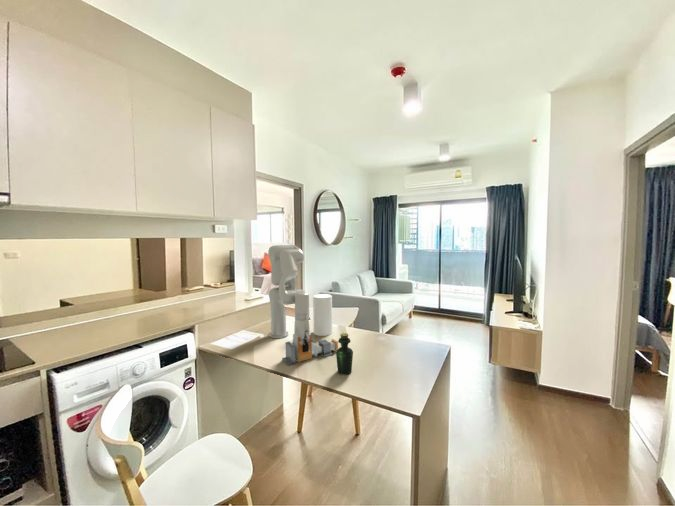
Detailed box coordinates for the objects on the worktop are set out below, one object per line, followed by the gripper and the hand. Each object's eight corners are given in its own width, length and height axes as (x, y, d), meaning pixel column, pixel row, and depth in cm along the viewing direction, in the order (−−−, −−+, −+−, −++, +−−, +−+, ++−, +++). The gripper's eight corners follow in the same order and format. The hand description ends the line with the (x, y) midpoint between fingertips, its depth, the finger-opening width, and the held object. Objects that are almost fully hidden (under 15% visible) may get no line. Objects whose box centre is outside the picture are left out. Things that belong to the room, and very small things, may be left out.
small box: (298, 362, 145) (297, 337, 144) (293, 358, 150) (292, 334, 150) (312, 358, 149) (311, 334, 149) (307, 354, 154) (306, 331, 154)
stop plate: (282, 359, 148) (281, 343, 147) (289, 358, 150) (289, 341, 149) (287, 365, 141) (287, 348, 140) (295, 363, 143) (294, 346, 142)
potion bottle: (340, 377, 129) (340, 338, 128) (333, 369, 137) (333, 333, 136) (356, 373, 132) (356, 335, 131) (348, 366, 140) (348, 330, 139)
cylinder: (328, 336, 182) (328, 298, 180) (310, 334, 185) (310, 297, 184) (334, 330, 194) (334, 294, 192) (317, 328, 197) (317, 293, 196)
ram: (310, 353, 155) (310, 342, 155) (333, 347, 162) (332, 337, 162) (315, 356, 150) (315, 345, 150) (338, 351, 157) (338, 340, 157)
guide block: (316, 351, 159) (316, 340, 158) (324, 349, 161) (324, 338, 161) (324, 356, 151) (324, 345, 151) (332, 354, 154) (332, 343, 153)
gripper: (289, 313, 154) (289, 345, 155) (302, 321, 139) (302, 356, 140) (302, 311, 158) (302, 342, 159) (315, 318, 143) (316, 353, 144)
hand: (302, 348), depth 149 cm, fingers open, 6 cm apart
